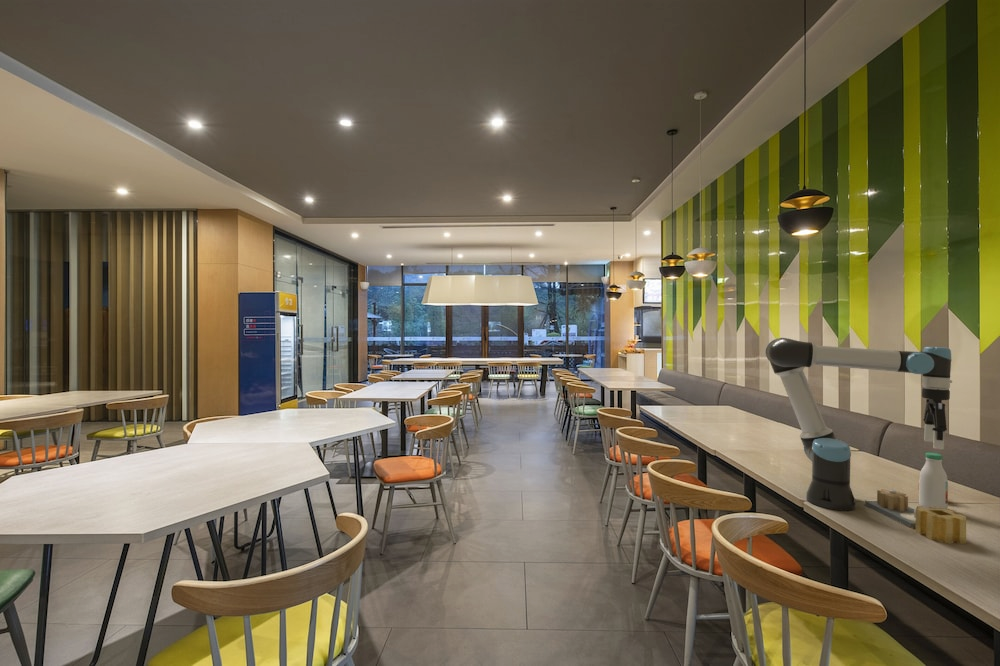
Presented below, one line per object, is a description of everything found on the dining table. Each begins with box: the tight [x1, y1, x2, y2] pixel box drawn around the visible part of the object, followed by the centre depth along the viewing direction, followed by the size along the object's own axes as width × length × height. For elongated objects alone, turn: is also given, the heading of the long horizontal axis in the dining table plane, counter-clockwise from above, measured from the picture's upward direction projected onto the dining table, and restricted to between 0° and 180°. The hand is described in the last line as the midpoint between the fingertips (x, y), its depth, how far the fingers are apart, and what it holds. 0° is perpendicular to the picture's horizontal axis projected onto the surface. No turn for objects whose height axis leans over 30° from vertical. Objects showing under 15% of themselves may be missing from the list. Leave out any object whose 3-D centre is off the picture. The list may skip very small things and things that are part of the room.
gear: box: [915, 505, 967, 545], centre depth 146 cm, size 10×10×8 cm
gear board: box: [864, 488, 917, 529], centre depth 161 cm, size 12×20×7 cm, turn 178°
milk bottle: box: [918, 452, 949, 510], centre depth 170 cm, size 8×8×20 cm
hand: (933, 445), depth 170 cm, fingers open, 13 cm apart
